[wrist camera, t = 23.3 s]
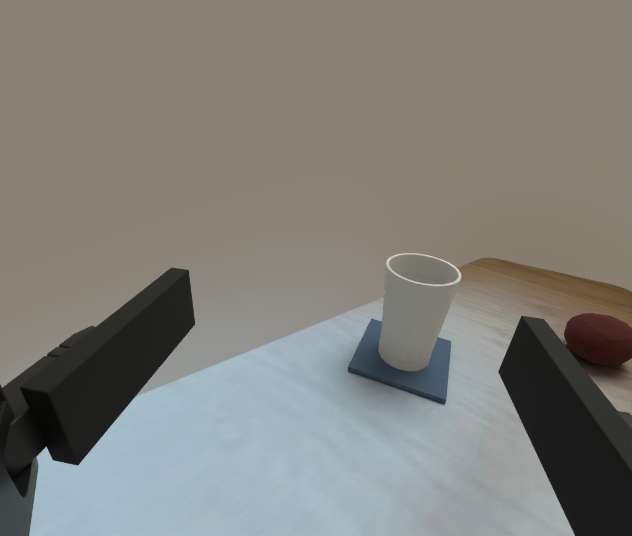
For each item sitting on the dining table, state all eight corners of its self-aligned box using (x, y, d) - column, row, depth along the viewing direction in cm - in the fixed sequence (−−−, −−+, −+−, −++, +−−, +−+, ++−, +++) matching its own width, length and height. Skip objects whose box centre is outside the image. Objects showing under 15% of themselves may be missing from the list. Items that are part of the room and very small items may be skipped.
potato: (543, 335, 48) (559, 300, 45) (602, 341, 47) (622, 306, 45) (573, 371, 41) (594, 332, 39) (643, 379, 41) (669, 340, 38)
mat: (347, 370, 39) (348, 366, 39) (371, 322, 48) (371, 318, 48) (444, 403, 35) (446, 399, 35) (450, 344, 45) (451, 341, 44)
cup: (448, 374, 39) (476, 285, 33) (383, 378, 37) (401, 286, 32) (420, 332, 46) (439, 253, 40) (364, 334, 44) (377, 253, 39)
